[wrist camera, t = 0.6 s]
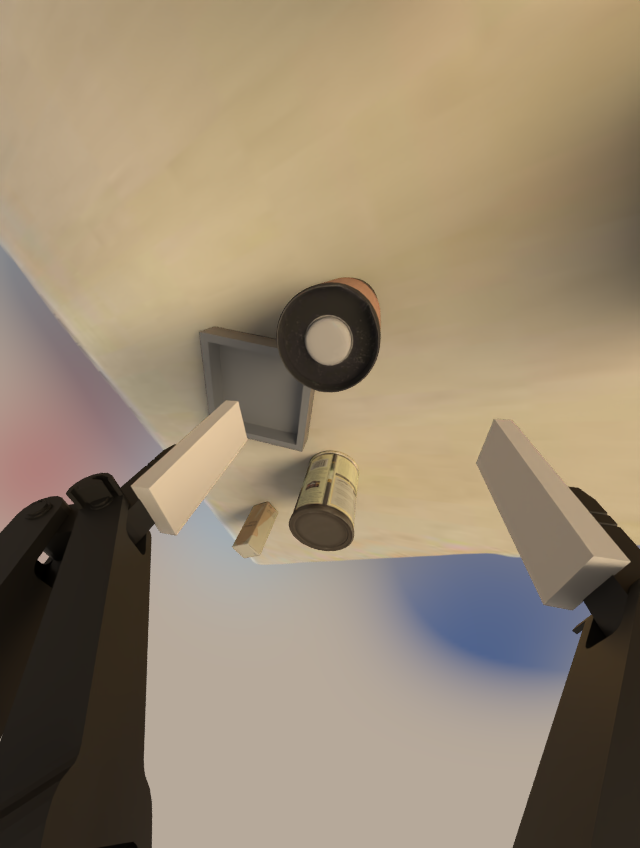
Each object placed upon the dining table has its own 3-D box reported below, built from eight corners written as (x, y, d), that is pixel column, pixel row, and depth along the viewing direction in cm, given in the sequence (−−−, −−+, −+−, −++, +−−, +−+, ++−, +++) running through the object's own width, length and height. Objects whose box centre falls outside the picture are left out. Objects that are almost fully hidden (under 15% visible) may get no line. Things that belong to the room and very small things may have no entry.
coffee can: (338, 496, 54) (327, 559, 42) (299, 470, 52) (277, 528, 40) (370, 470, 48) (368, 535, 37) (328, 441, 47) (312, 498, 35)
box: (268, 501, 59) (248, 543, 50) (278, 512, 61) (261, 556, 52) (252, 505, 62) (230, 547, 52) (263, 517, 63) (243, 559, 54)
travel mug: (331, 342, 37) (293, 401, 20) (317, 285, 33) (258, 301, 17) (383, 329, 35) (389, 385, 18) (374, 267, 31) (372, 265, 14)
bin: (214, 326, 39) (199, 331, 36) (321, 348, 38) (315, 356, 34) (222, 418, 49) (210, 429, 45) (307, 438, 47) (302, 451, 44)
